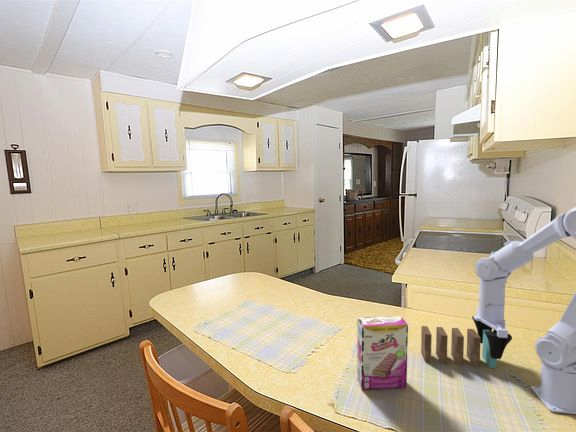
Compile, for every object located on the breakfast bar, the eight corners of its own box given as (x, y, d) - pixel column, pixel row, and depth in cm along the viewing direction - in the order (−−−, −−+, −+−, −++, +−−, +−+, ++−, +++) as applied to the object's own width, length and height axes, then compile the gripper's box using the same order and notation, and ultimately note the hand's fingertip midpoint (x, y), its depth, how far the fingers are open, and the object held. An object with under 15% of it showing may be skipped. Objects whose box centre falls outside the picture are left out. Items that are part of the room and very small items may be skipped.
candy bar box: (362, 391, 75) (361, 326, 73) (356, 378, 80) (356, 316, 78) (408, 389, 75) (408, 323, 73) (400, 376, 80) (400, 314, 78)
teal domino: (488, 357, 87) (489, 330, 86) (496, 367, 82) (497, 339, 81) (482, 357, 88) (483, 329, 87) (489, 367, 83) (490, 338, 82)
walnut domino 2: (442, 353, 90) (442, 327, 89) (446, 363, 85) (447, 335, 84) (436, 353, 90) (436, 326, 89) (440, 363, 85) (441, 335, 84)
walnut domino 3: (457, 355, 89) (458, 328, 88) (463, 365, 84) (463, 336, 83) (451, 354, 89) (451, 327, 88) (456, 364, 84) (457, 336, 84)
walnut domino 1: (427, 352, 91) (427, 326, 90) (431, 362, 86) (431, 334, 85) (421, 352, 91) (421, 325, 90) (424, 361, 86) (425, 334, 85)
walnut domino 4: (472, 356, 88) (473, 329, 87) (479, 366, 83) (480, 337, 82) (466, 355, 88) (467, 328, 88) (473, 366, 84) (473, 337, 83)
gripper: (465, 291, 91) (464, 336, 92) (485, 312, 77) (483, 364, 78) (492, 292, 89) (491, 337, 91) (518, 313, 75) (515, 366, 77)
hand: (489, 350), depth 85 cm, fingers open, 7 cm apart
